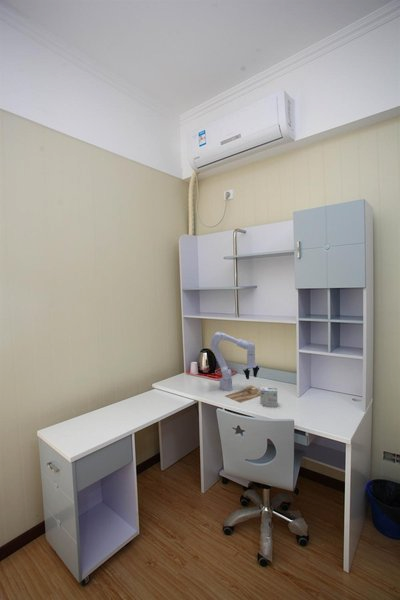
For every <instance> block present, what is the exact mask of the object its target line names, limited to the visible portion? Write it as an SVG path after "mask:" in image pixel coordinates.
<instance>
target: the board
mask: <svg viewBox="0 0 400 600" xmlns="http://www.w3.org/2000/svg"><path fill="white" fill-rule="evenodd" d="M224 397H226V398H228V399H230V400H232V401H235V402H238V403H239V404H241V403H244V402H247V401H250V400H253V399H256V398H258V397H259V398H260V391H258V390H257V394H254V395H253V394H250V393H248V392H246V388H244V389H242V390H239V391H236V392H232V393H229V394H226V395H224Z"/></svg>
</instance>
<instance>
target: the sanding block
mask: <svg viewBox="0 0 400 600" xmlns="http://www.w3.org/2000/svg"><path fill="white" fill-rule="evenodd" d="M245 389H246V392H248V393H250V394H253V395H254V394H257V391H258V387H256V386H253V385H247V386H245Z"/></svg>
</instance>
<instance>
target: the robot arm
mask: <svg viewBox="0 0 400 600" xmlns="http://www.w3.org/2000/svg"><path fill="white" fill-rule="evenodd" d="M221 341H223V342H224V341H228V342H231V343H234V344H236V346H237V347H239V348H242V349H243V350H247V353H246V365H245V366H243V367H242V371H243V374H244V375H245V378H246V380H250V373H251V370H250V369H252V374H253V377H254V378H257V376H258V373H259V371H260V364H259V363H256V348H255V344H254V343H253V342H252V341H247V340H244V338H238V339H237V338H236V337H233V336H231V335H229V334H227V333H225V332H222V331H216V332H215V333H214V334H213V335H212V338H211V342H210V348H211V349H212V352H213V354H214V356H215V358H216V361H217V362H218V365H219V367H220V370H221V374H222V375H221V376H222V377H221V378H219V389H218V390H222V391H226V392H228V391H232V390H233V377H232V373H233V371H232V369H230V367H229V366H228V365H227V363H226V360H225V358H224V356H223V354H222V352H221V350H220V347H219V343H220V342H221Z"/></svg>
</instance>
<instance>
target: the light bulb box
mask: <svg viewBox="0 0 400 600" xmlns="http://www.w3.org/2000/svg"><path fill="white" fill-rule="evenodd" d="M259 392H260V396H259V399H260V400H259V401H260V405H261V407H269V408H277V407H278V388H277V387H272V386H271V387H270V386H267V387H266V386H260V390H259Z"/></svg>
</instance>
